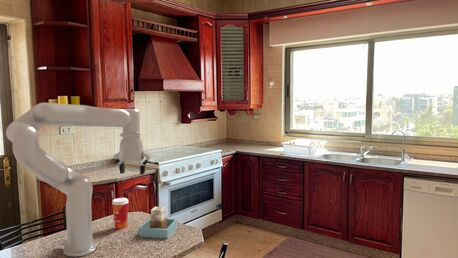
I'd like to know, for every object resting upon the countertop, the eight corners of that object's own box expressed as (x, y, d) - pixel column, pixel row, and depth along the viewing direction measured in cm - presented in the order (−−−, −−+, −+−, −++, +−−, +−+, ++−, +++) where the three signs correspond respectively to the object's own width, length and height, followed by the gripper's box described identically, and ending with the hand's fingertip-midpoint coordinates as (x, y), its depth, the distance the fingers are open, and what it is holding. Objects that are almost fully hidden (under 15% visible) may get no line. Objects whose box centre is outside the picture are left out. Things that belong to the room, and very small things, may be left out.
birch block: (151, 220, 156) (150, 209, 156) (155, 216, 161) (155, 206, 161) (161, 221, 156) (161, 210, 155) (165, 217, 160) (165, 207, 160)
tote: (138, 237, 154) (138, 227, 153) (150, 226, 167) (150, 217, 166) (167, 239, 151) (167, 230, 151) (177, 228, 165) (177, 219, 164)
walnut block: (150, 233, 157) (149, 220, 156) (155, 228, 162) (154, 216, 162) (162, 234, 156) (162, 221, 155) (167, 229, 161) (167, 217, 161)
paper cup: (111, 226, 166) (110, 198, 165) (128, 224, 170) (127, 196, 168) (113, 232, 159) (112, 203, 158) (130, 229, 163) (129, 201, 161)
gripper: (109, 136, 151) (110, 174, 153) (146, 137, 148) (146, 176, 150) (117, 134, 159) (118, 171, 160) (152, 135, 156) (153, 172, 157)
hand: (132, 173), depth 155 cm, fingers open, 9 cm apart
